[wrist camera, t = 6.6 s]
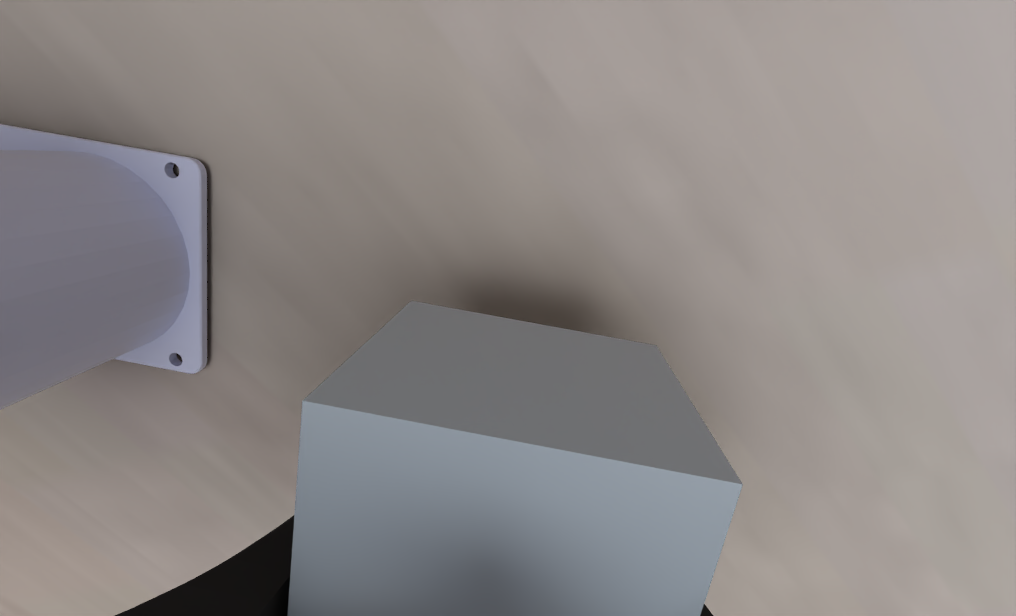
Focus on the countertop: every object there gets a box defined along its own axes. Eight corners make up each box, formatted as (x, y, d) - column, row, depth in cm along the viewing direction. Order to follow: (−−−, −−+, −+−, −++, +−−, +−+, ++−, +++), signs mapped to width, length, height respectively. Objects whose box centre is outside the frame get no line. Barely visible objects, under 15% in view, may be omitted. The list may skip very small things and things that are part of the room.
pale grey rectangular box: (373, 608, 15) (270, 864, 9) (411, 300, 12) (302, 400, 7) (578, 649, 14) (596, 936, 9) (656, 345, 12) (742, 484, 7)
